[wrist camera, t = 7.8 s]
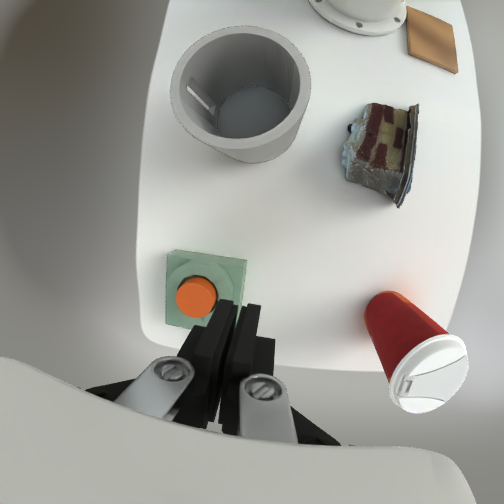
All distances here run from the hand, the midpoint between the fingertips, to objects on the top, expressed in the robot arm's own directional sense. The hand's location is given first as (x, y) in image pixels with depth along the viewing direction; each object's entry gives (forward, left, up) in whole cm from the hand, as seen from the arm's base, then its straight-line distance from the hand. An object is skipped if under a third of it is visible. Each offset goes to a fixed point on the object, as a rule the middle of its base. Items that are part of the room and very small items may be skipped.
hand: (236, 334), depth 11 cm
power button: (+5, -5, -15) cm, 17 cm away
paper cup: (+6, +16, -20) cm, 26 cm away
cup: (-12, -2, -20) cm, 23 cm away
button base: (+6, -5, -20) cm, 21 cm away
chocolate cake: (-12, +10, -20) cm, 25 cm away
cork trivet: (-29, +18, -20) cm, 39 cm away
